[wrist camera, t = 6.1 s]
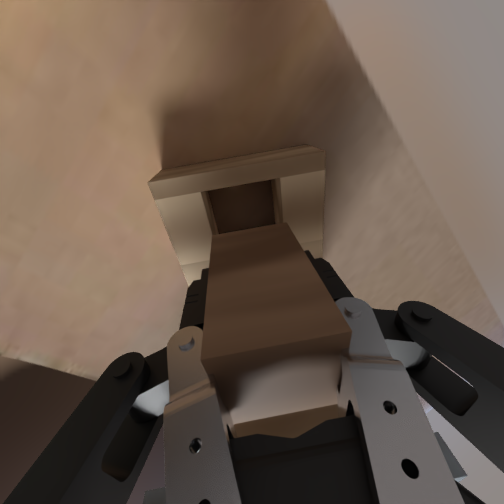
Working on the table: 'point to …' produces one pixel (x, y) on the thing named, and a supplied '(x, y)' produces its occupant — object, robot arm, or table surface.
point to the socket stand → (285, 210)
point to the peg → (270, 326)
